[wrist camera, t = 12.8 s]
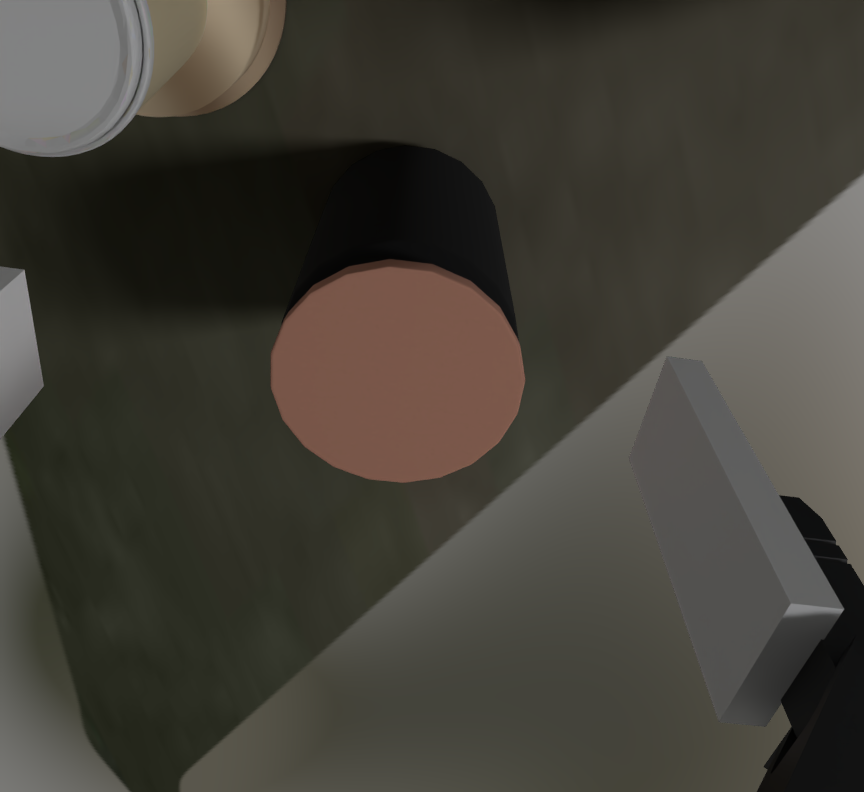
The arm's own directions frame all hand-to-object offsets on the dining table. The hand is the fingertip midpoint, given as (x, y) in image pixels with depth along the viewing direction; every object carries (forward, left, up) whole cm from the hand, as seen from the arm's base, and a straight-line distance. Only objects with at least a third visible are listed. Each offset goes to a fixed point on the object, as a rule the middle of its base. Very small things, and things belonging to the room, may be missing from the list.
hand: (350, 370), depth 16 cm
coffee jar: (+3, +8, -31) cm, 32 cm away
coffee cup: (+10, -9, -27) cm, 30 cm away
